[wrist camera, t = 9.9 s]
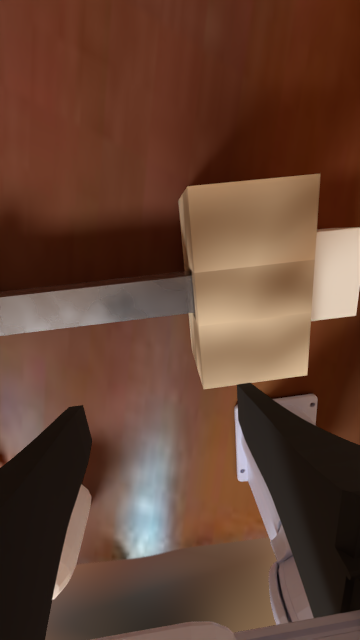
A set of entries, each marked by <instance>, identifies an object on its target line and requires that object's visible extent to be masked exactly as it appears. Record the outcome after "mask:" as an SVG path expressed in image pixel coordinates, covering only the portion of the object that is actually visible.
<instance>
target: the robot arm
mask: <svg viewBox="0 0 360 640" xmlns="http://www.w3.org/2000/svg"><path fill="white" fill-rule="evenodd" d="M237 398H238V404H237V405H236V406H235V434H236V460H237V477H238V480H239V481H241V482H243V481H249V484H250V487H251V489H252V492H253V495H254V498H255V500H256V503H257V506H258V508H259V511H260V514H261V516H262V519H263V522H264V525H265V527H266V530H267V533H268V535H269V537H270V540H271V542H270V543H271V545H272V548H273V551H274V554H275V557H276V559H277V562H275V563H274V564H273V565H272V566H271V568H270V571H269V588H270V600H271V606H272V611H273V614H274V618H275V621H276V625H273V626H268V627H263V628H257V629H251V630H246V631H240V632H235V633H233V632H232V631H231V630H230V629H229V628H227V627H225V626H223V625H220V624H217V623H215V622H211V621H207V622H187V623H181V624H176V625H170V626H164V627H158V628H153V629H147V630H142V631H136V632H130V633H125V634H119V635H114V636H108V637H102V638H96V639H91V640H360V445H358V444H355V443H352V442H350V441H348V440H345V439H343V438H341V437H338V436H336V435H334V434H331V433H329V432H327V431H325V430H323V429H321V428H319V427H317V426H316V414H317V402H318V398H317V397H316V396H315V395H314V394H307V395H299V396H292V397H285V398H278V399H271V398H270V397H269V396H267V395H266V394H264V393H263V392H262V391H260V390H259V389H258V388H256V387H255V386H254V385H252V384H251V383H244V384H237ZM311 403H312V404H311ZM310 404H311V405H310ZM91 445H92V438H91V434H90V431H89V427H88V423H87V419H86V415H85V411H84V408H83V405H81V406H73V407H69V408H68V409H67V410H65V411H64V412H63V413H62V414H61V415H60V416H59V417H58V418H57V419H56V420H55V421H54V422H53V423H52V424H50V425H49V426H48V427H47V428H46V429H45V430H44V431H43V432H42V433H41V434H40V435H39V436H38V437H37V438H35V439H34V440H33V441H32V442H31V443H30V444H29V445H27V446H26V447H25V448H24V449H23V450H22V451H21V452H19V453H18V454H17V455H16V456H15V457H14V458H12V459H11V460H10V461H9V462H7V463H6V464H5V465H4V466H2V467H1V468H0V640H45V636H46V630H47V624H48V619H49V614H50V609H51V603H52V598H53V593H54V588H55V583H56V578H57V573H58V568H59V564H60V559H61V554H62V550H63V545H64V541H65V537H66V532H67V528H68V525H69V521H70V518H71V514H72V511H73V508H74V505H75V502H76V499H77V496H78V493H79V490H80V487H81V484H82V481H83V478H84V474H85V471H86V468H87V465H88V461H89V456H90V450H91ZM241 469H242V470H241Z"/></svg>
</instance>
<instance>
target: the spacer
mask: <svg viewBox="0 0 360 640" xmlns="http://www.w3.org/2000/svg"><path fill="white" fill-rule="evenodd" d="M359 288H360V227H350V228H327V229H317V235H316V250H315V265H314V280H313V296H312V311H311V321H316V320H324V319H332V318H340V317H349V316H356V312H357V304H358V296H359Z"/></svg>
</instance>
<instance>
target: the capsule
mask: <svg viewBox="0 0 360 640" xmlns="http://www.w3.org/2000/svg"><path fill="white" fill-rule="evenodd" d="M91 498H92V497H91V495H90V492H89V490H88V489H87V488H85V487H84V486H83V485H82V484H81V487H80V490H79V493H78V496H77V499H76V502H75V505H74V508H73V511H72V514H71V518H70V521H69V525H68V528H67V532H66V537H65V541H64V545H63V550H62V554H61V559H60V564H59V568H58V573H57V578H56V583H55V588H54V593H53V598H52V600H53V599H55V598H56V597H57V595H58V594H59V593H60V592H61V591H62V590H63V588H64V587H65V586H66V585H67V583H68V582H69V580H70V578H71V575H72V573H73V571H74V568H75V566H76V563H77V559H78V555H79V551H80V547H81V543H82V539H83V535H84V531H85V527H86V522H87V518H88V514H89V510H90V506H91Z"/></svg>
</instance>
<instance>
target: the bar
mask: <svg viewBox="0 0 360 640" xmlns="http://www.w3.org/2000/svg"><path fill="white" fill-rule="evenodd" d="M194 312H195V304H194V292H193V280H192V270H190V271H181V272H172V273H163V274H154V275H146V276H137V277H128V278H119V279H110V280H101V281H92V282H83V283H74V284H65V285H56V286H47V287H38V288H29V289H20V290H11V291H3V292H0V336H2V335H11V334H19V333H27V332H36V331H44V330H52V329H61V328H69V327H77V326H86V325H94V324H102V323H111V322H119V321H127V320H136V319H144V318H152V317H161V316H169V315H178V314H186V313H194Z"/></svg>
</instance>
